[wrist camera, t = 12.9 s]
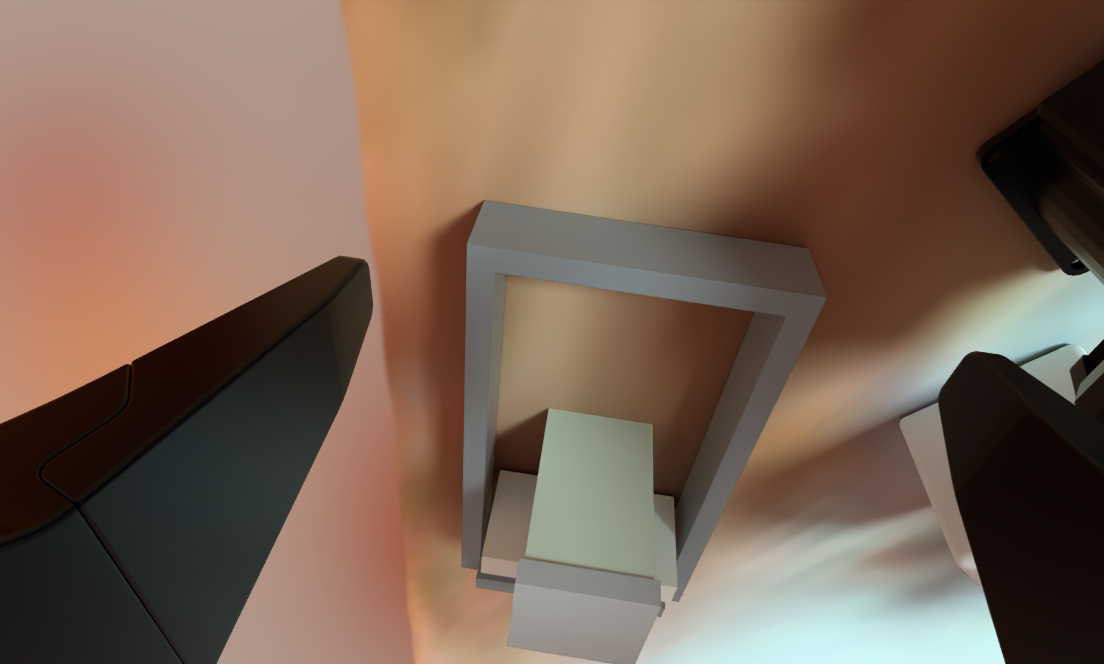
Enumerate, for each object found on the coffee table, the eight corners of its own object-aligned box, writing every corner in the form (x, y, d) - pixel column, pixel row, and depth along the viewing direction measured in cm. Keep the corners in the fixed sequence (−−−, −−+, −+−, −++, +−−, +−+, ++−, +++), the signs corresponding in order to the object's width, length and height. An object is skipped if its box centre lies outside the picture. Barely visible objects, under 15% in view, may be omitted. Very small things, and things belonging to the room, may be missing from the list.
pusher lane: (484, 200, 23) (460, 260, 20) (809, 248, 23) (834, 316, 20) (473, 519, 37) (457, 584, 34) (676, 551, 37) (679, 620, 34)
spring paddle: (500, 469, 33) (481, 556, 29) (673, 497, 33) (677, 587, 29) (494, 545, 38) (477, 628, 34) (645, 569, 38) (645, 655, 34)
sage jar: (657, 422, 30) (661, 606, 23) (636, 489, 33) (633, 667, 26) (545, 404, 30) (514, 582, 23) (535, 473, 33) (507, 646, 27)
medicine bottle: (968, 495, 31) (1106, 789, 21) (893, 417, 28) (1014, 716, 19) (1141, 433, 27) (1397, 758, 18) (1074, 337, 24) (1334, 662, 15)
